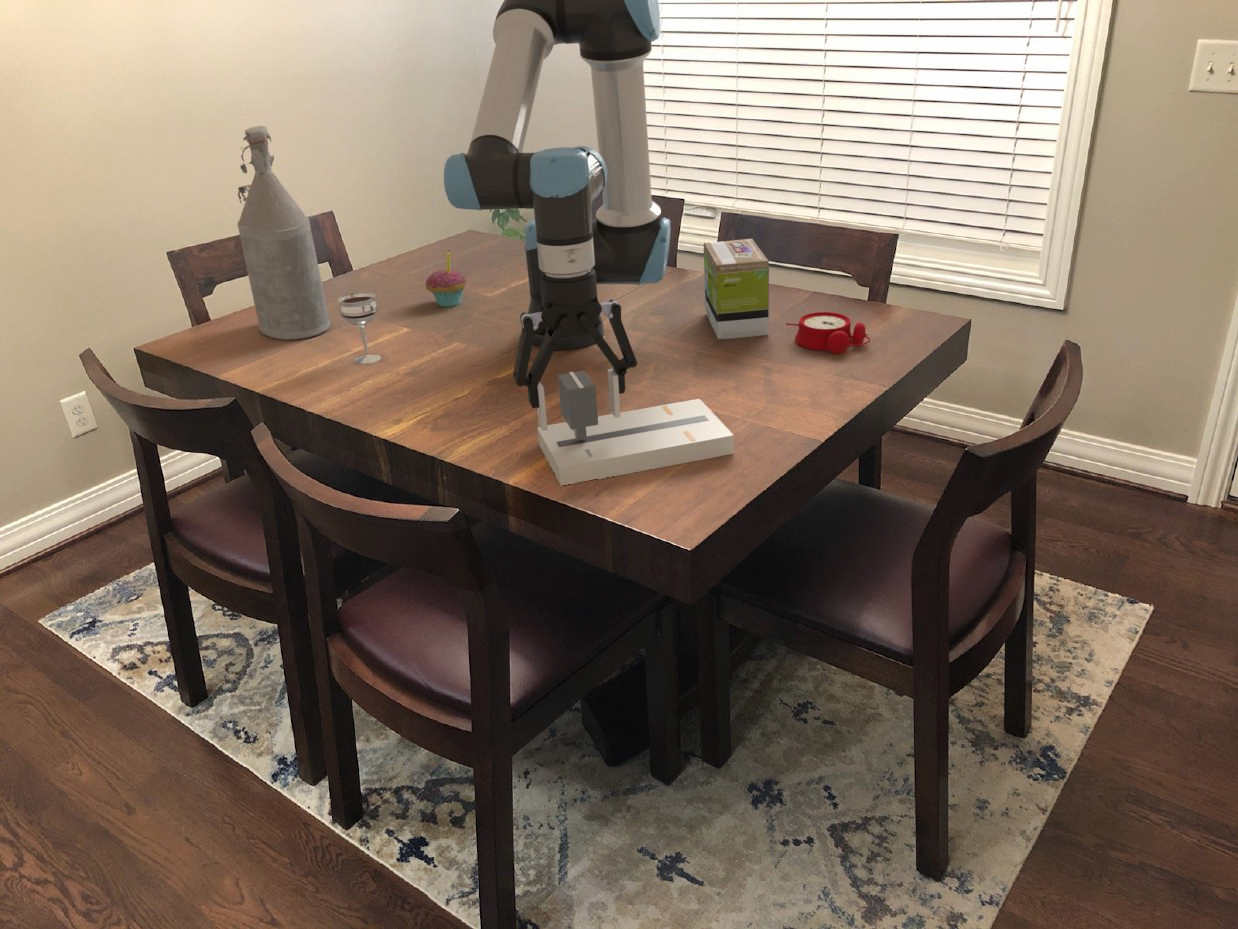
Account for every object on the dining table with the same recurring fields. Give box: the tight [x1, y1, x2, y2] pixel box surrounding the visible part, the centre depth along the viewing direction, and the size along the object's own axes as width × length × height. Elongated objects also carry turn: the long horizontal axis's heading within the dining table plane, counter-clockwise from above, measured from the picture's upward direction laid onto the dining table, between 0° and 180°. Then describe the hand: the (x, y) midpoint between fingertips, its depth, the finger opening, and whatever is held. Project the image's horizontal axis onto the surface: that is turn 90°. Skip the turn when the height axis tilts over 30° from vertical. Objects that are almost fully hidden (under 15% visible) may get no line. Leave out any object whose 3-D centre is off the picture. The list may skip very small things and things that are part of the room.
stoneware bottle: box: [236, 125, 331, 341], centre depth 198 cm, size 13×17×40 cm
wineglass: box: [337, 291, 382, 365], centre depth 187 cm, size 7×7×12 cm
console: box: [536, 398, 735, 486], centre depth 150 cm, size 14×26×3 cm, turn 107°
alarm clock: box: [785, 311, 871, 355], centre depth 184 cm, size 10×6×15 cm
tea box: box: [703, 238, 770, 340], centre depth 192 cm, size 15×10×15 cm
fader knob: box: [557, 370, 598, 441], centre depth 145 cm, size 6×4×9 cm, turn 17°
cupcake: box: [425, 248, 467, 308], centre depth 214 cm, size 9×8×12 cm
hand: (579, 420), depth 146 cm, fingers open, 10 cm apart
